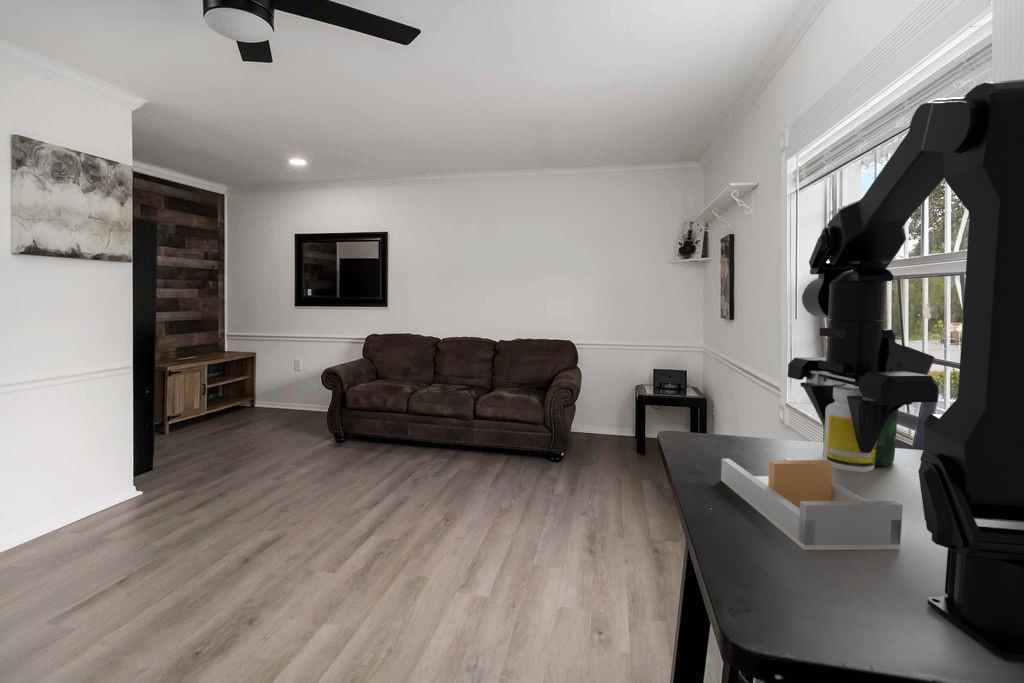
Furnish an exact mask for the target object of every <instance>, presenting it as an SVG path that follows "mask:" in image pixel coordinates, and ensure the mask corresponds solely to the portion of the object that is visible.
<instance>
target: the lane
mask: <svg viewBox="0 0 1024 683" xmlns="http://www.w3.org/2000/svg"><path fill="white" fill-rule="evenodd" d="M783 460H794V458H791V457H789V458H788V457H784V458H783ZM720 474H721V475H720V476H721V477H720V480H721V482H723V483H724V484H725V485H726V486H727V487H728V488H729V489H731V490H732V491H733V492H734V493H735V494H737V495H738V496H739V497H740V498H742V499H743V500H744V501H745V502H747V503H748V504H749V505H750V506H752V508H753V509H755V511H756V512H758V513H759V514H761V515H762V516H763V517H764V518H765V519H766V520H768V522H770V523H771V524H773V525H774V527H776V528H777V529H778V530H780V531H781V532H782V533H783V534H784V535H785V536H787V537H788V538H789V539H791V541H792V542H793V543H795V544H796V545H797V546H799V548H801V549H802V550H803V551H837V550H838V551H851V550H853V551H854V550H855V551H860V550H861V551H865V550H867V551H868V550H869V551H872V550H873V551H875V550H878V551H879V550H882V551H883V550H886V551H887V550H890V551H891V550H901V539H902V537H901V535H902V522H903V505H904V504H903V503H900V502H898V501H896V500H867V499H865V498H864V497H862V496H860V495H858V494H856V493H854V492H853V491H851V490H849V489H847V488H846V487H844V486H841V485H840V484H838V483H836V482H835V481H833V480H832V489H831V501H800V506H795V505H794V504H792V503H791V502H789V501H788V500H787V499H785V498H784V497H782V496H781V495H780V494H778V493H777V492H775V491H774V490H773V489H771V488H770V487H768V481H769V475H765V476H764V475H763V476H755V475H753V474H752V473H750V472H749V471H748V470H745V468H743V467H742V466H740V465H739V464H738V463H736V462H735V461H734V460H732V459H730V458H721V472H720Z"/></svg>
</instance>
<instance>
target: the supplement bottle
mask: <svg viewBox="0 0 1024 683" xmlns="http://www.w3.org/2000/svg"><path fill="white" fill-rule="evenodd" d="M847 396H862V394H861V392H860V390H859V387H853V386H835V387H834V388H833V398H834V399H835V402H834V403H831V404H829V405H828V406H827V407H826V411H825V428H824V427H823V428H824V431H823V432H824V433H823V450H822V460H827V461H829V462H831V463H833V468H835V469H838V470H841V471H842V470H843V471H849V472H861V473H863V472H866V473H867V472H870V471H872V470H874V469H875V466H876V465H875V452H876V444H875V446H874V448H873V450H872V452H870V453H862V452H861V451H860V449H859V446H858V443H857V439H856V435H855V431H854V426H853V422H852V417H851V413H850V409H849V405H848V400H847Z"/></svg>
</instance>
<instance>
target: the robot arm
mask: <svg viewBox="0 0 1024 683" xmlns="http://www.w3.org/2000/svg"><path fill="white" fill-rule="evenodd" d="M908 130H909V131H908V132H907V133H906V135H905V136H904V138H903V139H902V141H901V142H900V144H899V145H898V146H897V148H896V149H895V151H894V152H893V153H892V155H891V156H890V157H889V159H888V160H887V162H886V164H885V165H884V167H883V168H882V169H881V171H880V172H879V173H878V175H877V176H876V177H875V179H874V181H873V182H872V184H871V185H870V187H869V188H868V189H867V190H866V192H865V194H864V195H863V197H862V198H860V200H857V201H856V202H854V203H852V204H848V205H847V206H844V207H842V208H841V209H840V210H838V212H836V214H835V215H834V216H833V217H832V218H831V219H830V220H829V222H828V223H827V224H826V226H825V227H823V229H822V231H821V234H820V236H819V237H818V238H817V241H816V244H815V246H814V247H813V250H812V254H811V256H810V258H809V261H808V263H809V267H810V269H809V274H810V275H812V276H813V275H818V278H815V279H814V280H813V281H811V282H809V284H807V286H806V287H805V288H804V291H803V293H802V296H801V300H802V305H803V307H804V310H806V312H808V313H809V314H810V315H811V316H814V317H817V318H823V319H827V327H819V334H818V335H819V337H827V338H826V353H825V354H826V355H825V357H794V358H793V359H792V360H791V361H790V362H788V364H787V378H790V379H794V380H800V381H801V380H804V378H805V382H800V387H801V388H803V389H804V391H805V392H806V393H805V394H807V396H808V399H809V400H810V402H811V403H812V405H813V408H814V410H815V412H816V413H817V415H818V418H819V420H820V422H821V424H822V427H823V428H825V411H826V407H827V406H828V405H829V404H831V403H834V402H835V399H834V398H833V388H834V387H835V386H853V387H856V386H859V390H860V392H861V394H862V396H847V400H848V405H849V409H850V413H851V417H852V422H853V426H854V431H855V435H856V439H857V443H858V446H859V449H860V451H861V452H862V453H870V452H872V450H873V448H874V446H875V444H876V442H877V440H878V438H879V436H880V434H881V432H882V430H883V428H884V426H885V424H886V422H887V421H888V419H889V418H890V416H891V415H892V413H893V412H894V411H896V410H897V409H898V410H899V409H900V408H902V407H903V406H908V405H909V406H910V405H913V403H939V390H940V384H939V383H938V381H937V380H936V379H935V378H934V377H933V376H932V375H929V373H930V370H931V368H932V365H933V363H934V361H935V358H936V357H935V356H933V355H931V354H929V353H925V352H923V351H920V350H917V349H914V348H912V347H909V346H906V345H902V344H900V343H897V342H896V332H894V329H889V328H887V329H886V328H885V323H886V322H885V319H886V302H887V301H886V299H887V284H888V282H892V281H893V280H894V278H895V276H894V274H893V273H892V271H890V270H889V269H887V268H888V267H889V265H890V264H891V262H892V261H893V260H894V258H895V257H896V255H897V254H898V253H899V252H900V250H901V248H902V247H903V245H904V243H905V242H907V241H906V240H907V237H906V232H905V225H906V224H907V222H908V220H909V219H910V218H911V217H912V216H913V215H914V213H915V212H916V211H917V210H918V209H919V208H920V207H921V205H922V204H923V203H924V202H925V201H926V200H927V199H928V198H929V197H930V195H931V194H933V192H934V191H935V190H936V188H937V187H938V186H939V185H940V184H941V183H942V182H943V181H945V183H947V185H948V186H949V188H950V189H951V191H952V192H953V193H954V195H956V197H957V198H958V200H959V201H960V203H961V204H962V205H963V206H964V208H965V209H966V210H967V211H968V218H969V219H968V234H967V250H966V251H967V252H966V267H965V279H964V280H965V282H964V295H963V297H964V298H963V313H962V326H961V342H960V357H959V358H960V359H959V372H958V386H957V388H958V389H957V396H956V399H955V401H954V402H952V404H951V405H950V406H949V407H948V408H947V409H946V411H945V412H943V413H942V414H941V413H939V414H938V413H937V414H936V413H930V414H929V415H928V416H927V418H926V419H925V420H924V423H923V448H922V453H921V456H920V458H919V459H920V465H919V468H918V478H919V485H920V492H921V494H920V495H921V502H922V509H923V517H924V521H925V526H926V530H927V531H928V532H929V533H931V541H932V542H933V543H934V544H935V545H937V546H940V547H944V548H946V549H947V555H946V567H945V568H946V569H945V570H946V571H945V581H944V582H945V583H944V593H945V595H947V596H929V597H927V605H928V606H929V607H931V609H932V608H933V610H935V611H936V612H937V613H939V614H940V615H942V616H943V617H944V618H946V619H948V620H949V621H950V622H951V623H953V624H954V625H956V626H957V627H959V628H960V629H962V630H963V631H964V632H965V633H967V634H968V635H970V636H971V637H972V638H974V639H975V640H976V641H978V642H980V643H981V644H982V645H984V646H985V647H986V648H988V649H989V650H990V651H991V652H993V653H994V654H995V655H997V656H999V657H1001V658H1003V659H1005V660H1009V659H1014V660H1013V661H1016V660H1015V659H1024V528H1023V529H1022V528H1011V527H1009V528H1008V527H1001V526H997V527H996V526H986V525H985V526H984V525H978V524H977V521H976V520H983V521H999V522H1009V523H1024V79H1012V80H1011V79H1010V80H1001V81H1000V80H999V81H987V82H982V83H980V84H978V85H975V86H974V87H973V88H972V89H970V90H969V91H968V92H967V93H966V94H965V96H961V97H960V96H959V97H958V96H957V97H949V98H947V97H946V98H935V99H932V100H930V101H929V102H925V103H922V104H920V105H919V106H918V107H917V109H915V111H914V113H913V115H912V117H911V121H910V124H909V129H908ZM843 382H844V383H843ZM847 383H848V384H847ZM851 384H852V385H851ZM855 385H856V386H855Z"/></svg>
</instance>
